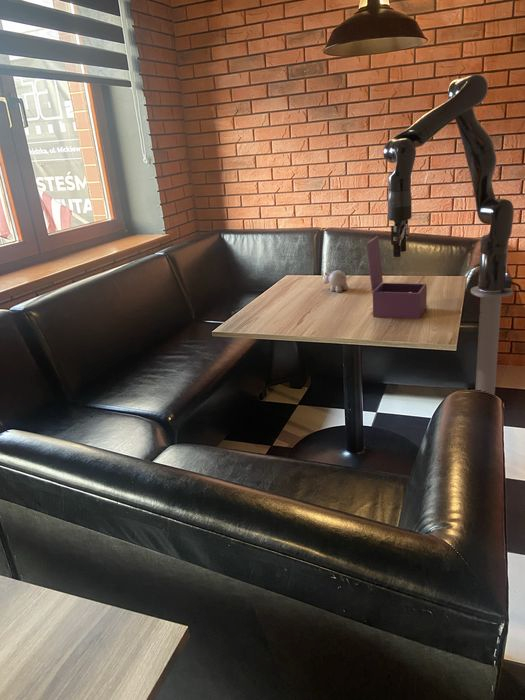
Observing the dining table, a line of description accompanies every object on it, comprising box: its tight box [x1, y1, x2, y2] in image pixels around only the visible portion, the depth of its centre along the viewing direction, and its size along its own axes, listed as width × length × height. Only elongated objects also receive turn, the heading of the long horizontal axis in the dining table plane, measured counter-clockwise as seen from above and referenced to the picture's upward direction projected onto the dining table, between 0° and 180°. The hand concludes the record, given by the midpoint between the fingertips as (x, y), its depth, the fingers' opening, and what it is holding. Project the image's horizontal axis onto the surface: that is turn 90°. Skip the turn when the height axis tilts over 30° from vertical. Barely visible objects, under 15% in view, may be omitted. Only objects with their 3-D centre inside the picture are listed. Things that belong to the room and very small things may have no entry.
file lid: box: [366, 235, 384, 292], centre depth 184 cm, size 16×13×1 cm
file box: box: [372, 282, 428, 320], centre depth 185 cm, size 16×13×9 cm
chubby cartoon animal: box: [322, 269, 349, 293], centre depth 221 cm, size 7×12×8 cm, turn 36°
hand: (399, 254), depth 179 cm, fingers open, 8 cm apart
